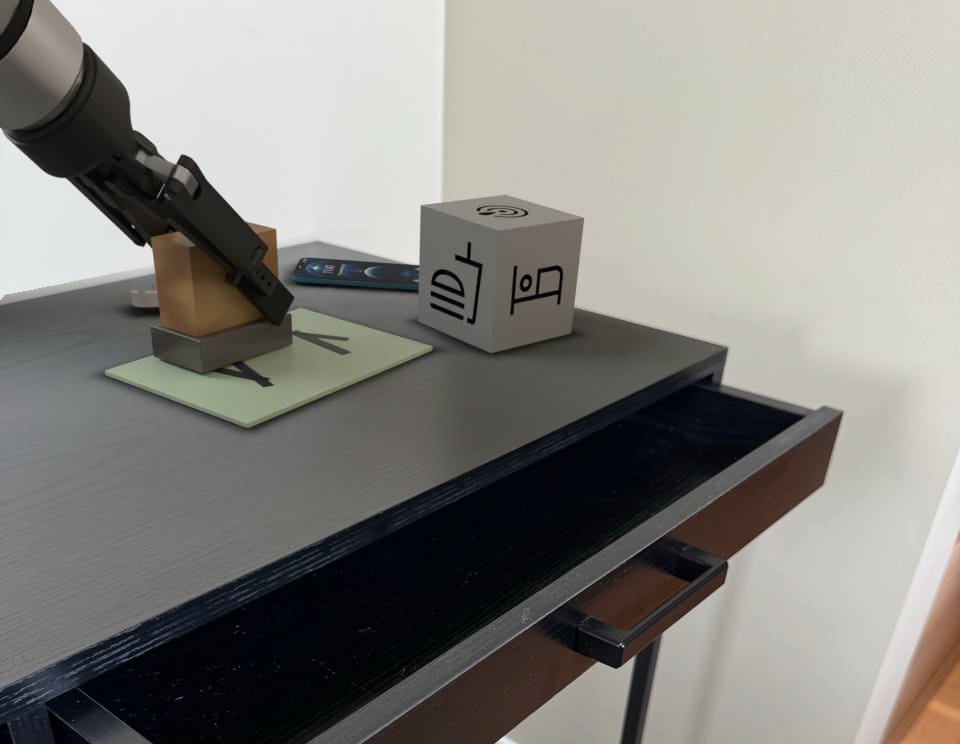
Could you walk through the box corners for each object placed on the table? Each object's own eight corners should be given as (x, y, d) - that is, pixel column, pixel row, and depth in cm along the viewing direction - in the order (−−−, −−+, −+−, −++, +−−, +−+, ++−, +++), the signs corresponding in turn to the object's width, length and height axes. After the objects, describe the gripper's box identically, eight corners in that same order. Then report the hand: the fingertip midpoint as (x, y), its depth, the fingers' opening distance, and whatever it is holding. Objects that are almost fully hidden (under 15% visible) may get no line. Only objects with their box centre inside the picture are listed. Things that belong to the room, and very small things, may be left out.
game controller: (183, 296, 91) (180, 268, 89) (243, 333, 84) (241, 302, 83) (124, 305, 88) (120, 275, 86) (182, 343, 81) (178, 312, 79)
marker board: (105, 375, 74) (104, 369, 74) (301, 311, 90) (301, 307, 89) (247, 428, 68) (247, 422, 68) (432, 350, 83) (432, 345, 83)
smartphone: (441, 287, 96) (289, 276, 96) (441, 293, 97) (290, 282, 96) (443, 266, 103) (301, 256, 102) (443, 272, 103) (301, 262, 102)
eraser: (153, 356, 76) (137, 236, 71) (245, 328, 83) (237, 217, 78) (203, 373, 74) (191, 250, 69) (293, 343, 81) (288, 229, 76)
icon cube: (490, 353, 83) (499, 230, 78) (418, 321, 89) (420, 205, 84) (571, 333, 89) (584, 217, 83) (497, 304, 95) (505, 194, 89)
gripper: (-79, 116, 62) (157, 316, 83) (112, 161, 54) (320, 370, 75) (-23, 17, 63) (197, 241, 84) (175, 48, 55) (363, 286, 76)
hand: (255, 302), depth 79 cm, fingers closed on eraser, 5 cm apart
